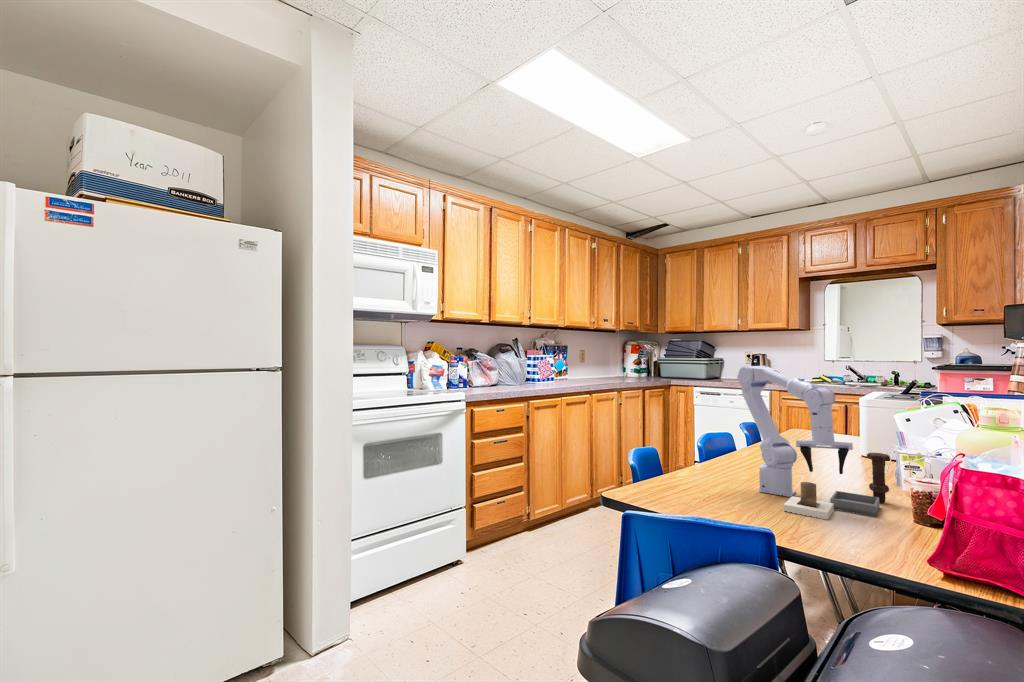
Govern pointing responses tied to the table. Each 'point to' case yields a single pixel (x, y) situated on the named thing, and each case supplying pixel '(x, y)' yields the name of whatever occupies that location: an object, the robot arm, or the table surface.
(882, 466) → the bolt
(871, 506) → the tray
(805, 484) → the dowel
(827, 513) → the socket block
